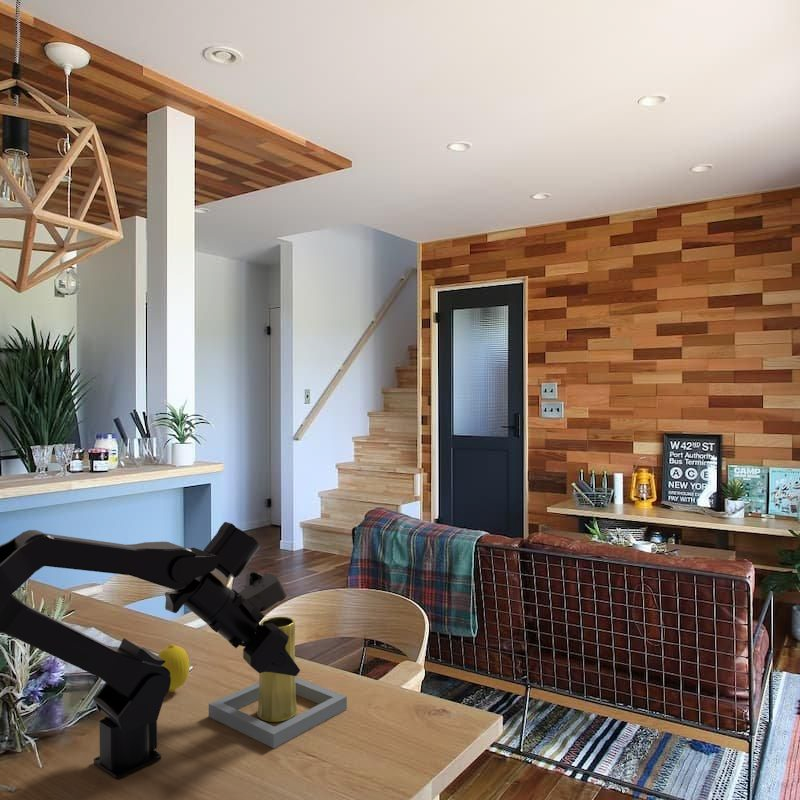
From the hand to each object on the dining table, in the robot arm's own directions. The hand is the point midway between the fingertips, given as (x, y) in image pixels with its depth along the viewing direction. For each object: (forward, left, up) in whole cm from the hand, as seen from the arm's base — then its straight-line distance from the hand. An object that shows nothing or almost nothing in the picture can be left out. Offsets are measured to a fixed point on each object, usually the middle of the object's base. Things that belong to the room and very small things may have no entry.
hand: (286, 662), depth 107 cm
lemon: (-7, +20, -8) cm, 23 cm away
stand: (-1, +1, -8) cm, 8 cm away
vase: (-2, +1, -8) cm, 8 cm away
